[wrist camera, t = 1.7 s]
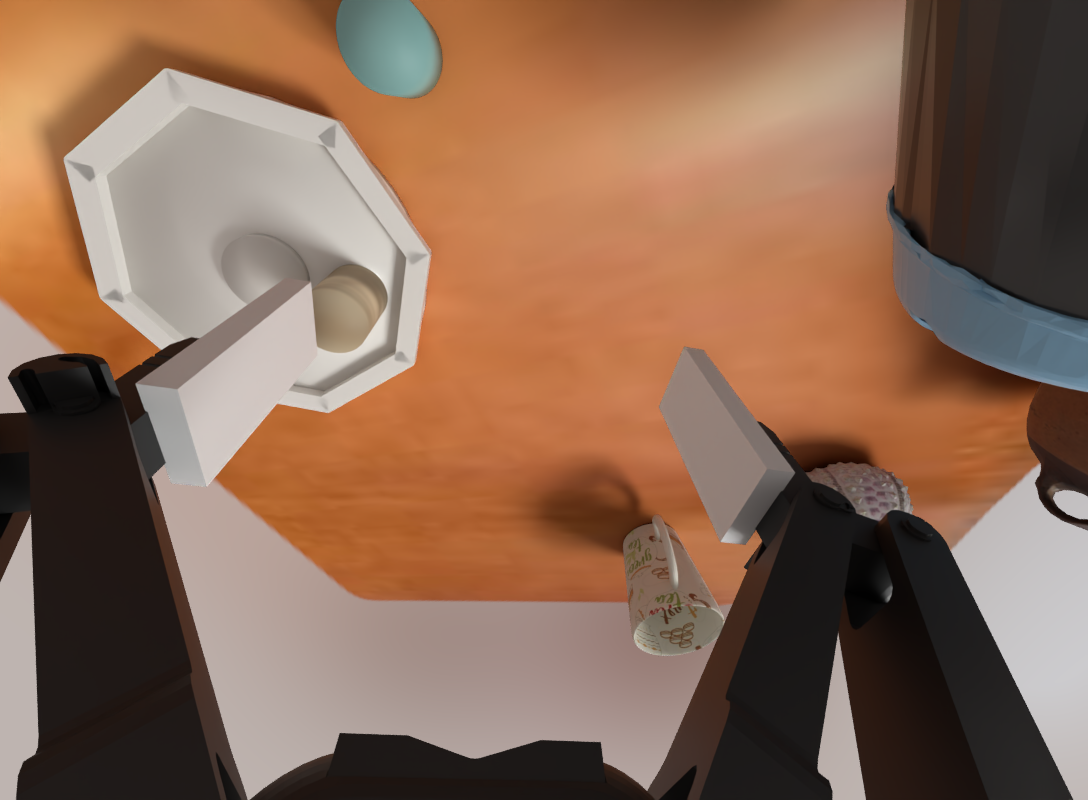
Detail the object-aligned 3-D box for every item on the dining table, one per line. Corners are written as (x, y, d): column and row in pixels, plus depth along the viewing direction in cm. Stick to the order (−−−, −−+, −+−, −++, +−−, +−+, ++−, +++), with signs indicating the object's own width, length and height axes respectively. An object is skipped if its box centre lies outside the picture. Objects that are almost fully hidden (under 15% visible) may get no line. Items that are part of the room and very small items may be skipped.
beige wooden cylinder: (327, 257, 28) (295, 281, 24) (390, 273, 29) (369, 299, 25) (326, 313, 31) (296, 344, 26) (385, 326, 31) (365, 359, 27)
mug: (616, 570, 50) (636, 661, 42) (602, 495, 43) (623, 585, 35) (688, 558, 50) (724, 647, 41) (686, 479, 43) (728, 567, 34)
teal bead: (370, -7, 22) (337, -35, 18) (447, 21, 23) (433, 1, 19) (365, 84, 25) (334, 78, 20) (436, 108, 25) (421, 107, 21)
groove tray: (60, 31, 23) (28, 24, 21) (448, 152, 27) (444, 154, 25) (138, 362, 33) (119, 374, 31) (409, 414, 37) (405, 426, 35)
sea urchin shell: (872, 527, 49) (930, 592, 42) (750, 550, 50) (787, 618, 43) (898, 436, 42) (972, 498, 35) (755, 466, 43) (800, 531, 36)
